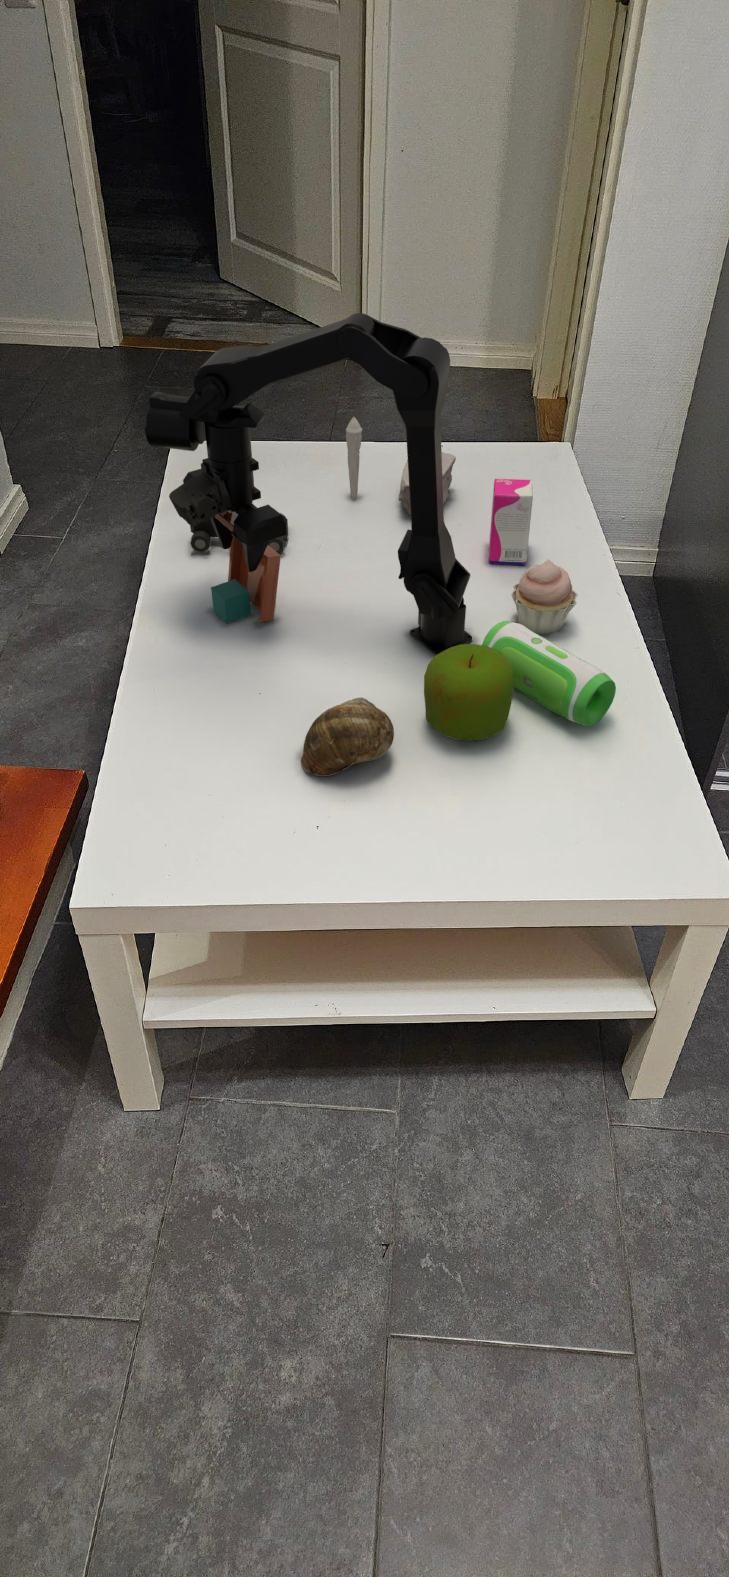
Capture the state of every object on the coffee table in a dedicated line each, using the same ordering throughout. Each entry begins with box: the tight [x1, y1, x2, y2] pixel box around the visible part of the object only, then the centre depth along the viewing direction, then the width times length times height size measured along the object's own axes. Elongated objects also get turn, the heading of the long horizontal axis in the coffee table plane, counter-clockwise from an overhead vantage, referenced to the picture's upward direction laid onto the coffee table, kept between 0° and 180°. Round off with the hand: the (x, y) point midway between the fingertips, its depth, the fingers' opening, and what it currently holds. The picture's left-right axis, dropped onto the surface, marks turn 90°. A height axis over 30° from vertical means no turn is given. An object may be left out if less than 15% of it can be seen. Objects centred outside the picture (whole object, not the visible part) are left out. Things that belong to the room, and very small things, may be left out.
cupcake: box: [510, 559, 579, 635], centre depth 149 cm, size 9×9×10 cm
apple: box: [423, 643, 515, 742], centre depth 132 cm, size 11×11×11 cm
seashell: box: [300, 697, 395, 777], centre depth 128 cm, size 11×9×8 cm
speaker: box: [481, 620, 617, 727], centre depth 138 cm, size 18×7×8 cm, turn 42°
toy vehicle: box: [189, 512, 289, 555], centre depth 167 cm, size 8×15×9 cm, turn 90°
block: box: [210, 579, 252, 624], centre depth 153 cm, size 4×4×4 cm
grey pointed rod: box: [345, 416, 363, 500], centre depth 176 cm, size 2×3×14 cm
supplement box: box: [488, 478, 534, 566], centre depth 163 cm, size 6×6×12 cm
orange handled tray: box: [215, 511, 282, 623], centre depth 151 cm, size 10×14×6 cm
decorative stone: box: [398, 452, 457, 517], centre depth 177 cm, size 15×7×10 cm
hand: (239, 559), depth 150 cm, fingers open, 7 cm apart
